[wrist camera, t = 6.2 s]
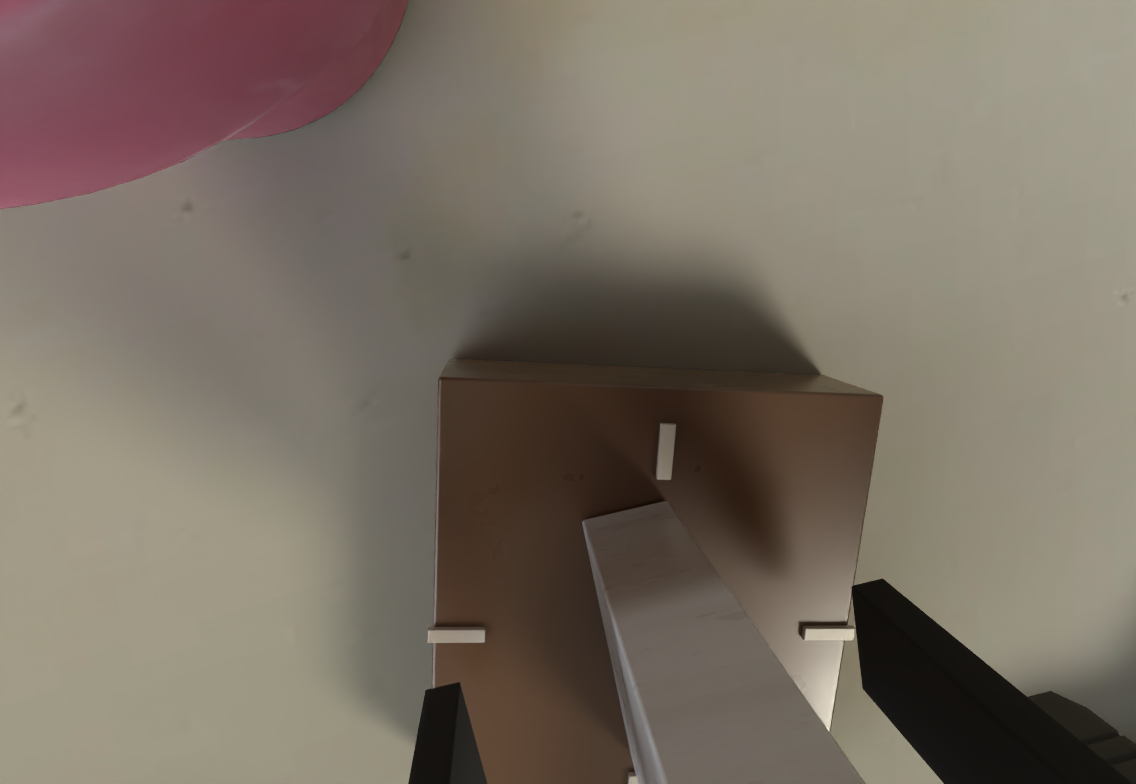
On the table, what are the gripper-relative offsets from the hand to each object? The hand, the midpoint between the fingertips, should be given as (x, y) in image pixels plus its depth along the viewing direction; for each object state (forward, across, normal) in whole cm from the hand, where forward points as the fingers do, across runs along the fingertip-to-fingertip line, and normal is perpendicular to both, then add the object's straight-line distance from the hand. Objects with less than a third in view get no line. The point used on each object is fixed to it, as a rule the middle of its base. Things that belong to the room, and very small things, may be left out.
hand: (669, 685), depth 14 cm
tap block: (+5, 0, 0) cm, 5 cm away
